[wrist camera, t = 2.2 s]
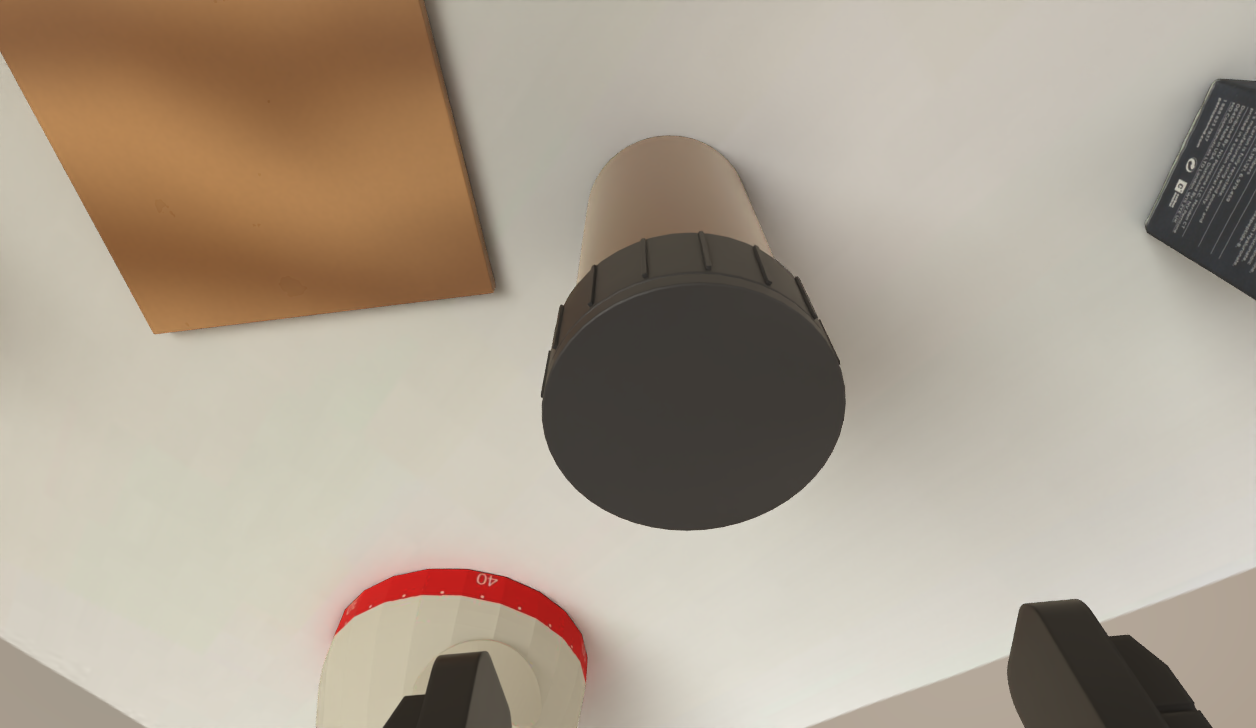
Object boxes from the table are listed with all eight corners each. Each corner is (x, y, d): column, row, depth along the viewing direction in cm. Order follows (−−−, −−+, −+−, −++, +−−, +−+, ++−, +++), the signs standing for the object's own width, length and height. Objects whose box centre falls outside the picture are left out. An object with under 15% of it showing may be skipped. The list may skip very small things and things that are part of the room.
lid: (527, 249, 17) (510, 303, 15) (819, 212, 17) (851, 262, 14) (576, 472, 21) (569, 544, 18) (818, 446, 20) (844, 517, 18)
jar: (574, 147, 26) (537, 305, 15) (743, 124, 26) (824, 271, 15) (600, 297, 29) (583, 514, 19) (751, 279, 29) (822, 490, 18)
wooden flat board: (-187, -325, 19) (-209, -331, 19) (317, -424, 18) (308, -433, 18) (161, 327, 30) (153, 334, 29) (496, 286, 29) (493, 293, 28)
